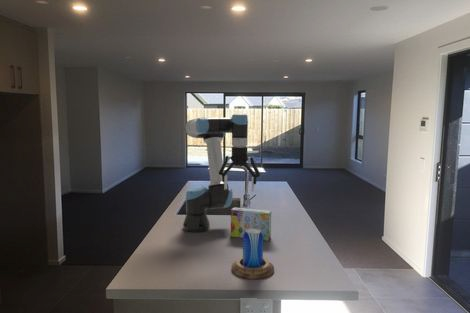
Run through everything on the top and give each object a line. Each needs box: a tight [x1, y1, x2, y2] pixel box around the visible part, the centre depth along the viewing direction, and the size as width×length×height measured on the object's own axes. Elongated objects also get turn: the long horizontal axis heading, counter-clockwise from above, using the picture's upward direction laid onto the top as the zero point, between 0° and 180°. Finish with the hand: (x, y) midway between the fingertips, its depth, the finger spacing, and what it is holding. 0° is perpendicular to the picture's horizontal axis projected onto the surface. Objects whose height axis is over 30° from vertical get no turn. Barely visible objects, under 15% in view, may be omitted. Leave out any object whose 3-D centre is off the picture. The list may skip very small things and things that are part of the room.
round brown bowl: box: [231, 256, 275, 281], centre depth 150 cm, size 18×18×3 cm
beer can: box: [242, 228, 264, 268], centre depth 149 cm, size 8×8×16 cm
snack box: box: [230, 207, 272, 242], centre depth 187 cm, size 21×6×15 cm, turn 71°
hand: (239, 189), depth 171 cm, fingers open, 13 cm apart
